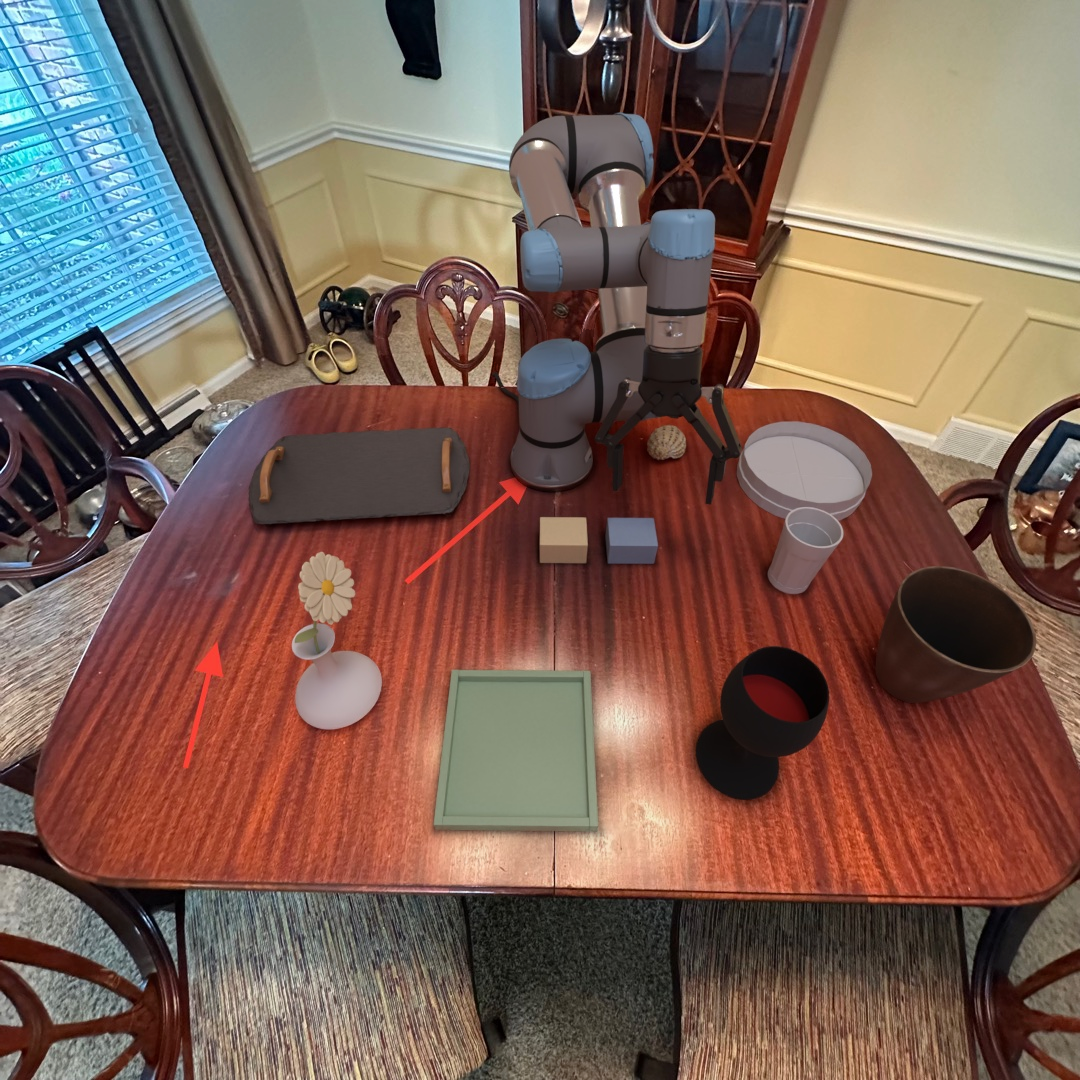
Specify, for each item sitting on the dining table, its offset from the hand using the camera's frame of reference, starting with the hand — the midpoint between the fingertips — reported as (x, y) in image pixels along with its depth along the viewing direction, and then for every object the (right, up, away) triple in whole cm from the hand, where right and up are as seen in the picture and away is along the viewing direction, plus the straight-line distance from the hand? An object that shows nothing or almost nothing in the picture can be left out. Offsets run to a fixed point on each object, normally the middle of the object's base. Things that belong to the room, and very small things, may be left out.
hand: (662, 493), depth 88 cm
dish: (+29, +4, +22) cm, 37 cm away
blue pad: (-3, -8, +11) cm, 14 cm away
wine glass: (+7, -35, -12) cm, 37 cm away
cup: (+21, -13, +7) cm, 26 cm away
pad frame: (-21, -33, -11) cm, 41 cm away
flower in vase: (-45, -27, -6) cm, 53 cm away
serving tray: (-50, +4, +21) cm, 54 cm away
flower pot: (+33, -26, -5) cm, 42 cm away
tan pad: (-14, -8, +11) cm, 20 cm away
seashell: (+6, +11, +27) cm, 30 cm away
